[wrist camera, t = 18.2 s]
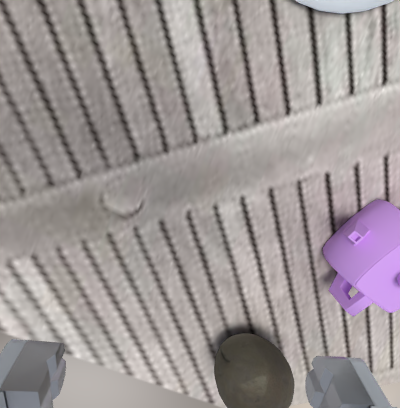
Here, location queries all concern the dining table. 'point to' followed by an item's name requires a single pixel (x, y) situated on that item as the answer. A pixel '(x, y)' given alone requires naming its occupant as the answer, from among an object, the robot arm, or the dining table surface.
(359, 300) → the teakettle
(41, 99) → the dining table surface
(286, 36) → the dining table surface
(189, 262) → the dining table surface
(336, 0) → the plated food
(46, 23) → the dining table surface
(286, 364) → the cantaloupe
